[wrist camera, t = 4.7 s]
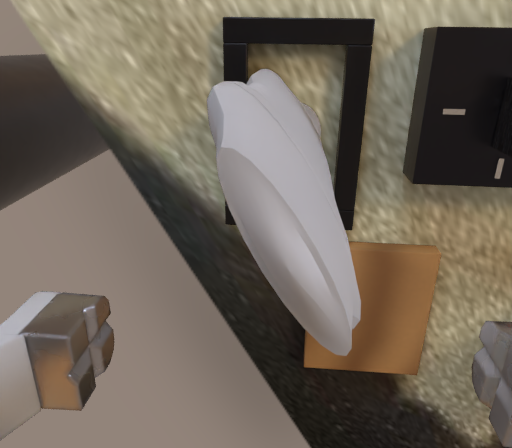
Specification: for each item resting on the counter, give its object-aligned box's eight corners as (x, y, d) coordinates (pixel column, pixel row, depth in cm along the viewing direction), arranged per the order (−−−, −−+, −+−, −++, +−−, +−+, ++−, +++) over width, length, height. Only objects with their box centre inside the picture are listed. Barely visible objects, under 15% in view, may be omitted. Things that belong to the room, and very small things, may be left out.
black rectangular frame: (227, 219, 36) (225, 224, 35) (225, 17, 30) (222, 16, 29) (350, 224, 35) (352, 230, 34) (372, 19, 29) (375, 18, 28)
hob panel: (402, 172, 33) (413, 184, 30) (424, 28, 29) (438, 26, 26) (553, 177, 32) (579, 191, 29) (596, 30, 28) (630, 29, 25)
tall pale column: (233, 78, 31) (120, 140, 11) (283, 48, 30) (258, 55, 10) (301, 200, 34) (310, 422, 14) (348, 176, 33) (430, 379, 13)
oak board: (303, 356, 40) (303, 367, 39) (311, 239, 36) (312, 247, 34) (413, 363, 40) (417, 375, 38) (436, 245, 35) (441, 253, 34)
